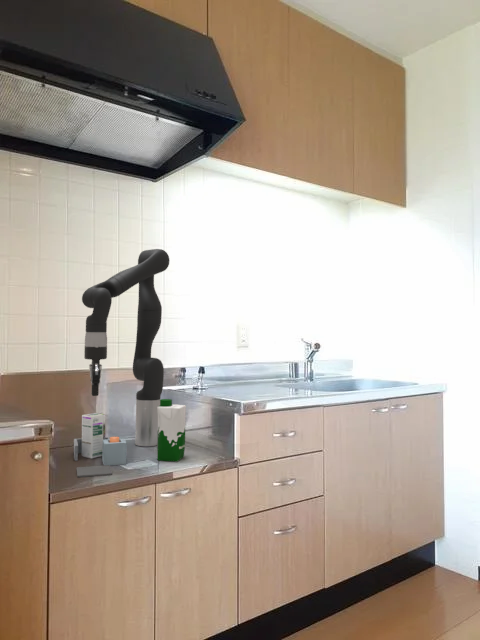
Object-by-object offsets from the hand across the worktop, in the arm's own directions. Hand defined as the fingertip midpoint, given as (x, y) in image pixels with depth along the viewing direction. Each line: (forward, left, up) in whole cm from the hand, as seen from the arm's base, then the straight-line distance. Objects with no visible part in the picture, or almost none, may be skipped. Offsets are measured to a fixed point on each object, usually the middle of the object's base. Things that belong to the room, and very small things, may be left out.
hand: (95, 395), depth 181 cm
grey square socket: (-6, +11, -21) cm, 24 cm away
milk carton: (-25, +11, -21) cm, 34 cm away
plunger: (-6, +11, -19) cm, 22 cm away
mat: (+1, +21, -21) cm, 30 cm away
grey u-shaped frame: (0, 0, -21) cm, 21 cm away
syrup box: (0, 0, -21) cm, 21 cm away
